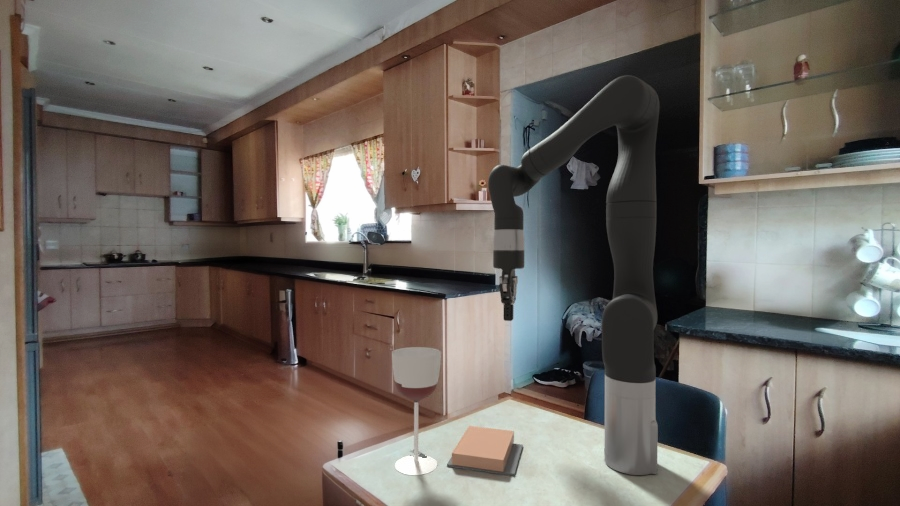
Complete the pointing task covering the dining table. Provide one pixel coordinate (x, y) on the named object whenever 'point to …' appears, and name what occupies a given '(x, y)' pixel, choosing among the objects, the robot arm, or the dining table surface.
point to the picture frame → (483, 448)
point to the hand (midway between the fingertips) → (508, 320)
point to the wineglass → (416, 395)
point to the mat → (510, 464)
